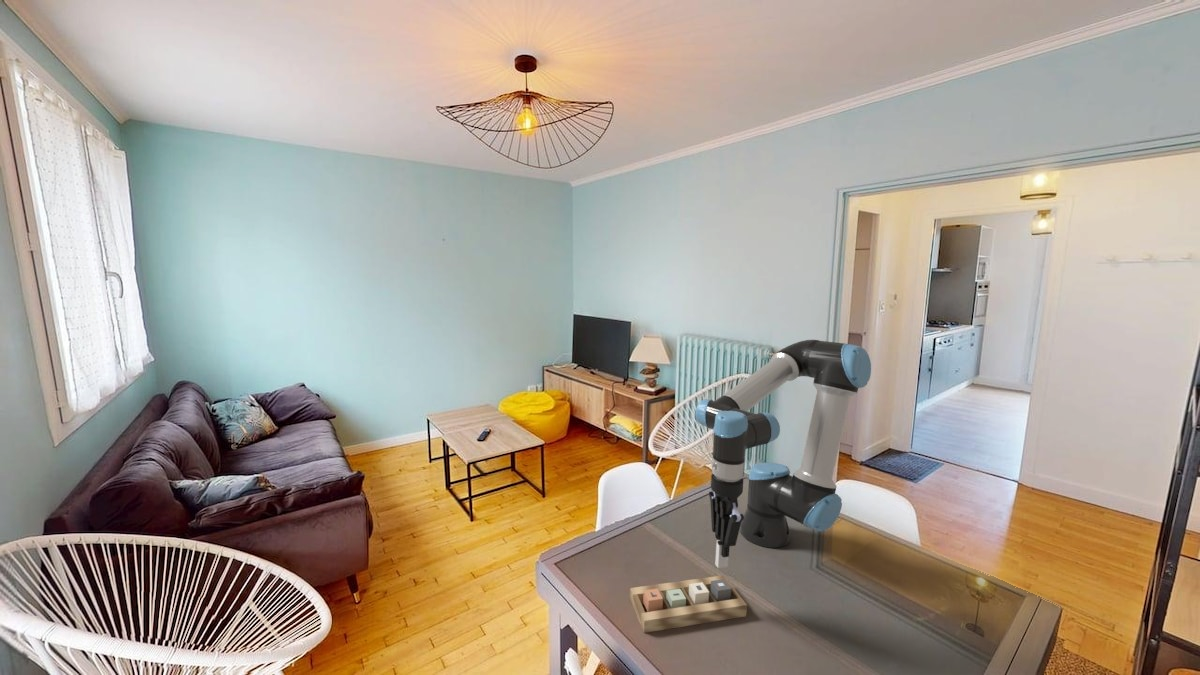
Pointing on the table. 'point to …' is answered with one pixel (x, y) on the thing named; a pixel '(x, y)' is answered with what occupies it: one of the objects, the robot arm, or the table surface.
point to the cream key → (698, 593)
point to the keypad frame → (690, 612)
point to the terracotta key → (652, 600)
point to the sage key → (675, 598)
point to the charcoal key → (720, 590)
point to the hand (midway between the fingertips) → (721, 565)
